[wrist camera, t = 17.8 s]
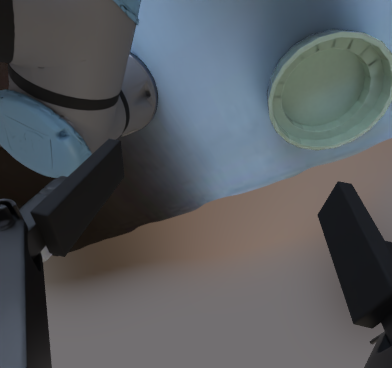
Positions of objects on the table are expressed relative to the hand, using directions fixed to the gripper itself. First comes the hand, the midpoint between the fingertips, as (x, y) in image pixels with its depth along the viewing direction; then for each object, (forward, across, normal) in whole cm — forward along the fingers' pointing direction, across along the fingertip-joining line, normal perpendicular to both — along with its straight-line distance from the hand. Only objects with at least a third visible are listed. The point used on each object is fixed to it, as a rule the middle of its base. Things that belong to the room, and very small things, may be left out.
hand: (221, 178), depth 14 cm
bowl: (+30, +13, -1) cm, 33 cm away
